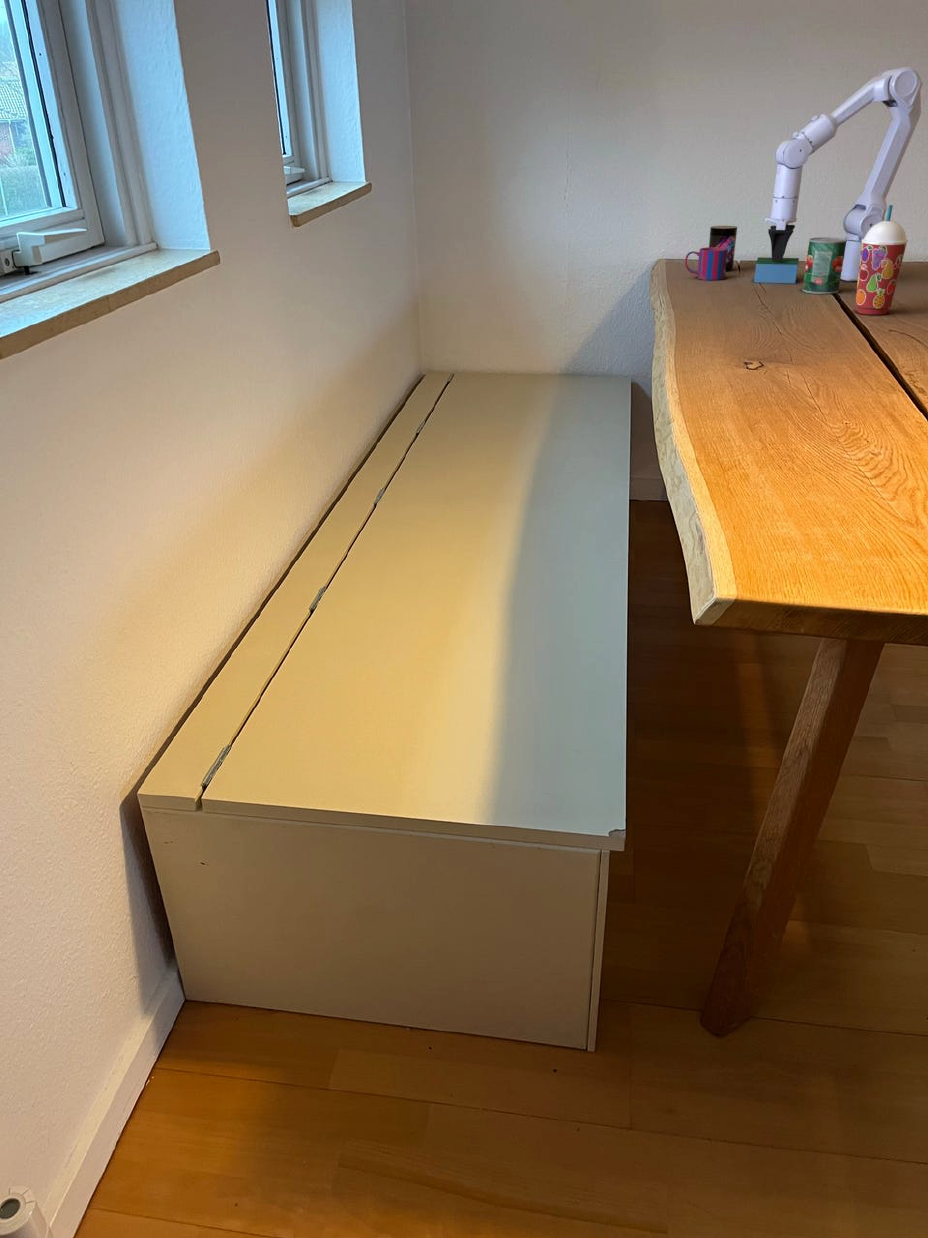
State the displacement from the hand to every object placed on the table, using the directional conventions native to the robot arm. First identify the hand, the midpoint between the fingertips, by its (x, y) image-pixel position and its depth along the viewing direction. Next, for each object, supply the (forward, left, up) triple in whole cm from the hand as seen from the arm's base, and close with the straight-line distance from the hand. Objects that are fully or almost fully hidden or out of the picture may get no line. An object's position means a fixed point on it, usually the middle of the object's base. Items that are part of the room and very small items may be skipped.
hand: (777, 259), depth 222 cm
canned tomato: (-3, +16, -5) cm, 17 cm away
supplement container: (+5, -21, -5) cm, 22 cm away
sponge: (0, 0, -5) cm, 5 cm away
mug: (+14, -10, -5) cm, 18 cm away
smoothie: (0, +42, -5) cm, 42 cm away
